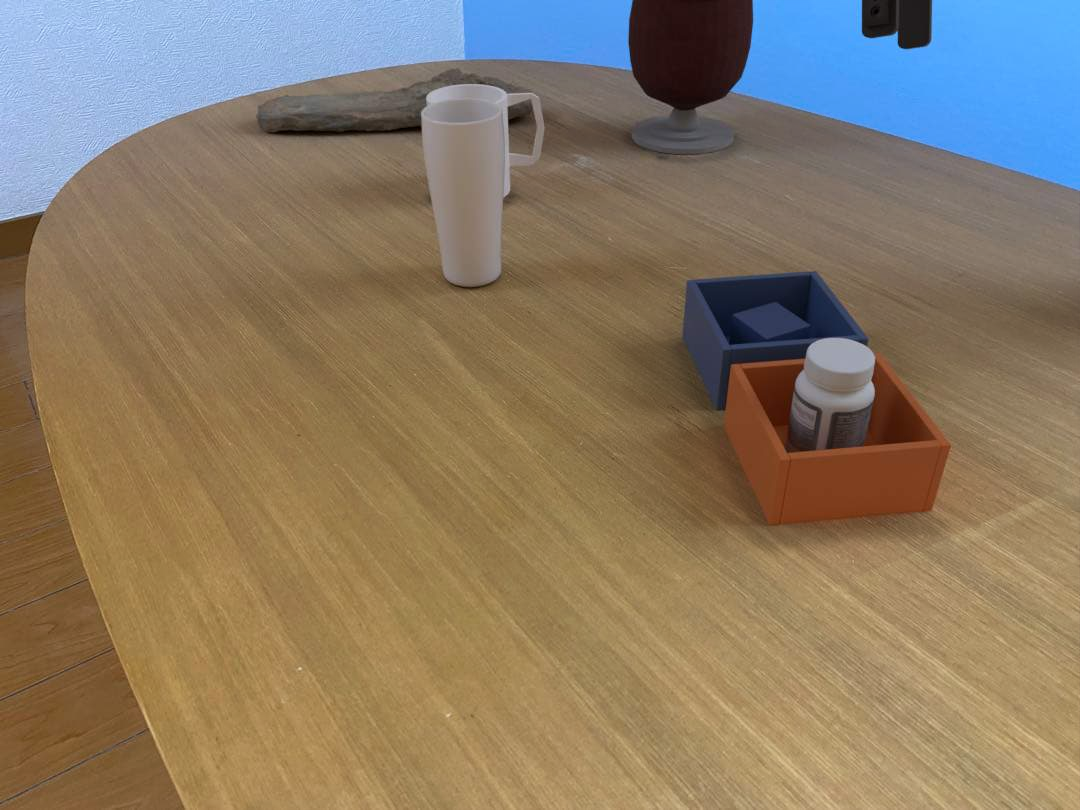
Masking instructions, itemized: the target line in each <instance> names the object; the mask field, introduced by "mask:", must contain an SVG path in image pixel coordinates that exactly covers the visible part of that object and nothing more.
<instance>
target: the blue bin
mask: <svg viewBox="0 0 1080 810" xmlns="http://www.w3.org/2000/svg"><path fill="white" fill-rule="evenodd" d="M774 302H777V303H778V304H780V305H781V306H783V307H784V308H786V309H787V310H789V311H790V312H792V313H793V314H794V315H796V316H797V317H799V318H800V319H802V320H803V321H805V322H806V323H808V324H809V325H810V331H809V337H808V339H800V340H787V341H774V342H761V343H748V344H735V345H729V342H730V333H731V324H732V316H733V314H735V313H739V312H742V311H746V310H749V309H753V308H756V307H760V306H763V305H767V304H770V303H774ZM681 336H682V339H683V342H684V344H685V346H686V348H687V350H688V353H689V354H690V357H691V358H692V362H693V363H694V366H695V367H696V369H697V372H698V374H699V376H700V378H701V381H702V382H703V385H704V387H705V389H706V391H707V393H708V397H709V398H710V401H711V402H712V404H713V406H714V408H715V410H716V411H726V403H727V394H728V386H729V377H730V369H731V365H732V364H744V363H756V362H769V361H782V360H795V359H805V358H806V352H807V349H808V347H809V346H810V345H811V344H812V343H814V342H816V341H818V340H821V339H825V338H844V339H850V340H853V341H856V342H859V343H861V344H863V345H865V346H866V347H868V343H869V337H868V335H867V334H866V333H865V332H864V330H863V329H862V328H861V327H860V325H859V324H858V323H857V322H856V320H855V319H854V318H853V317H852V315H851V314H850V312H849V311H848V310H847V308H846V307H845V306H844V305H843V303H842V302H841V301H840V300H839V298H838V297H837V296H836V294H834V292H833V290H832V289H831V288H830V287H829V286H828V284H827V283H826V282H825V281H824V279H823V278H822V277H821V275H820V274H819V272H817V271H816V270H811V271H796V272H795V271H794V272H781V273H766V274H754V275H738V276H725V277H723V276H722V277H708V278H697V279H687V280H686V287H685V299H684V312H683V324H682V335H681Z"/></svg>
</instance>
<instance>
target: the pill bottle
mask: <svg viewBox="0 0 1080 810" xmlns="http://www.w3.org/2000/svg"><path fill="white" fill-rule="evenodd" d="M873 353H874V352H873V351H872V350H871V349H870V348H869V347H868V346H867V347H866V346H865V345H863V344H861V343H859V342H856V341H853V340H850V339H844V338H825V339H821V340H818V341H816V342H814V343H812V344H811V345H810V346H809V347H808V349H807V352H806V358H805V362H804V370H803V371H802V372H801V373H800V374H799V375H798V377H797V379H796V382H795V388H794V394H793V400H792V407H791V413H790V420H789V426H788V432H787V440H786V446H785V450H786V452H787V454H788V453H793V452H805V451H816V450H828V449H839V448H851V447H862V446H864V441H865V437H866V432H867V428H868V423H869V419H870V414H871V409H872V405H873V400H874V395H875V390H874V385H873V383H872V381H871V379H872V376H873V370H874V365H875V356H874V354H873Z"/></svg>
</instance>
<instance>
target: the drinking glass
mask: <svg viewBox="0 0 1080 810" xmlns="http://www.w3.org/2000/svg"><path fill="white" fill-rule="evenodd" d="M420 127H421V144H422V152H423V160H424V161H423V162H424V168H425V173H426V180H427V185H428V190H429V195H430V202H431V207H432V212H433V217H434V223H435V229H436V235H437V241H438V246H439V252H440V258H441V270H442V275H443V277H444V278H445V280H446V281H448V283H450V284H453V285H455V286H457V287H463V288H477V287H483V286H486V285H489V284H491V283H493V282H495V281H496V280H498V278H499V277H500V275H501V274H502V271H503V270H502V269H503V265H502V264H503V263H502V262H503V261H502V237H503V213H504V211H503V210H504V197H503V194H504V173H505V139H504V125H503V115H502V108H501V107H500V106H499V105H498V104H496V103H494V102H491V101H488V100H483V99H474V98H458V99H449V100H443V101H439V102H436V103H433V104H430V105H428V106H427V107H425V108H424V109H423V110H422V112H421V126H420Z"/></svg>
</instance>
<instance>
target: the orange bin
mask: <svg viewBox="0 0 1080 810" xmlns="http://www.w3.org/2000/svg"><path fill="white" fill-rule="evenodd" d="M873 354H874V356H875V365H874V370H873V376H872V379H871V381H872V383H873V385H874V390H875V395H874V400H873V405H872V409H871V414H870V419H869V423H868V428H867V432H866V437H865V441H864V446H862V447H851V448H839V449H828V450H816V451H805V452H793V453H788V454H787V452H786V450H785V446H786V440H787V432H788V426H789V420H790V413H791V407H792V400H793V394H794V388H795V382H796V379H797V377H798V375H799V374H800V373H801V372H802V371H803V370H804V362H805V359H795V360H782V361H769V362H756V363H744V364H732V365H731V369H730V377H729V386H728V394H727V403H726V410H724V411H725V412H724V420H723V428H724V430H725V432H726V435H727V436H728V438H729V441H730V443H731V445H732V447H733V450H734V451H735V454H736V456H737V458H738V460H739V463H740V464H741V466H742V469H743V472H744V473H745V476H746V477H747V480H748V482H749V484H750V486H751V489H752V491H753V493H754V494H755V497H756V499H757V501H758V504H759V506H760V508H761V510H762V513H763V514H764V517H765V518H766V521H767V523H768V525H769V526H770V527H771V526H781V525H782V526H783V525H792V524H802V523H803V524H804V523H813V522H824V521H833V520H843V519H844V520H845V519H856V518H857V519H858V518H865V517H866V518H867V517H876V516H889V515H898V514H911V513H919V512H920V513H921V512H932V511H933V508H934V506H935V505H934V504H935V502H936V498H937V495H938V491H939V488H940V485H941V481H942V478H943V474H944V471H945V468H946V464H947V461H948V458H949V454H950V452H951V449H952V444H951V443H950V442H949V440H948V439H947V438H946V436H945V435H944V434H943V432H942V430H940V429H939V427H938V426H937V424H936V423H935V422H934V420H933V419H932V418H931V417H930V415H928V413H927V412H926V411H925V409H924V408H923V407H922V406H921V404H920V403H919V401H918V400H917V399H916V397H915V396H914V395H913V393H912V392H911V391H910V390H909V389H908V387H907V386H906V384H904V382H903V381H902V380H901V378H900V377H899V376H898V375H897V373H896V372H895V370H894V369H893V368H892V367H891V365H890V364H889V363H888V362H887V360H886V359H885V358H884V356H883V355H882V354H881V352H873Z"/></svg>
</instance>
